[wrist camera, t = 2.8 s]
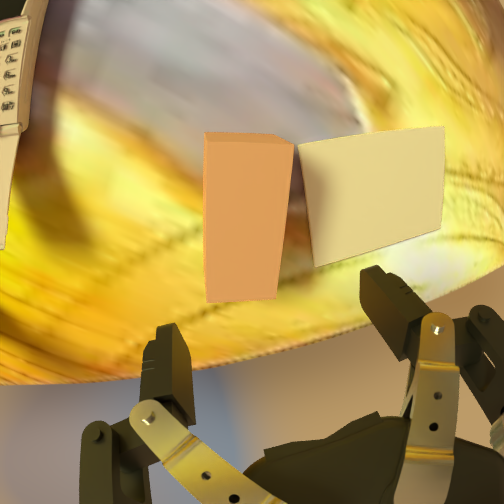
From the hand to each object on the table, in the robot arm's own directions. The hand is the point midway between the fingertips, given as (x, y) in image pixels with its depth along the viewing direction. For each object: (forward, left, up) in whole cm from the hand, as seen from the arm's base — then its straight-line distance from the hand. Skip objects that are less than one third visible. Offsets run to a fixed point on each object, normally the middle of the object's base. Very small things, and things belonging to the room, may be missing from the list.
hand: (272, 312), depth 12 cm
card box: (0, 0, -13) cm, 13 cm away
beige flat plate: (+2, +13, -12) cm, 18 cm away
